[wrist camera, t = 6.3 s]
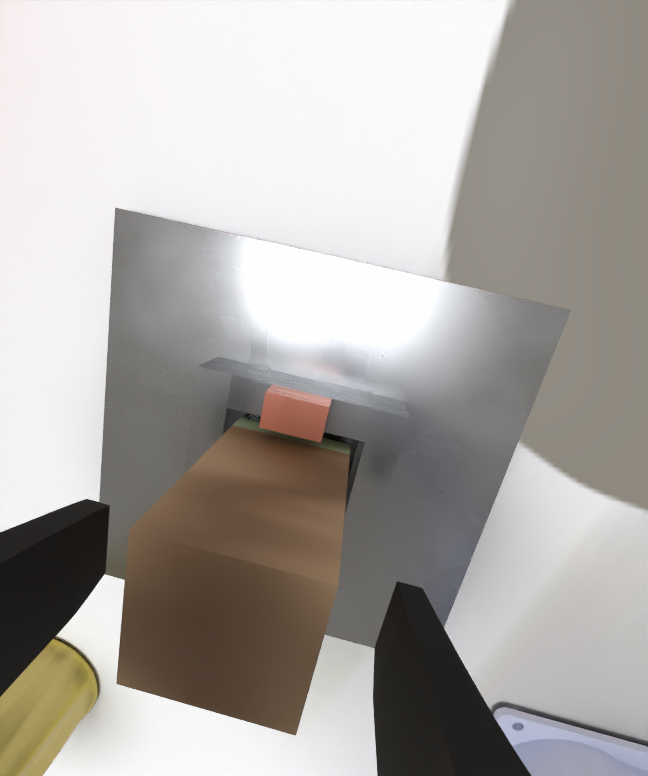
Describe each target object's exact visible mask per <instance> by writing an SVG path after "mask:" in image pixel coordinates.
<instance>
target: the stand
mask: <svg viewBox="0 0 648 776" xmlns="http://www.w3.org/2000/svg"><path fill="white" fill-rule="evenodd" d="M570 311H571V310H569V309H565V308H560V307H556V306H551V305H546V304H542V303H538V302H533V301H529V300H524V299H520V298H516V297H511V296H506V295H502V294H498V293H493V292H489V291H484V290H480V289H475V288H471V287H467V286H462V285H457V284H453V283H449V282H444V281H440V280H435V279H431V278H426V277H422V276H418V275H413V274H409V273H404V272H400V271H395V270H391V269H386V268H382V267H377V266H373V265H369V264H364V263H360V262H355V261H351V260H346V259H342V258H337V257H333V256H328V255H324V254H320V253H315V252H311V251H306V250H302V249H297V248H293V247H288V246H284V245H279V244H275V243H270V242H266V241H262V240H257V239H253V238H248V237H244V236H239V235H235V234H230V233H226V232H221V231H217V230H213V229H208V228H204V227H199V226H195V225H190V224H186V223H181V222H177V221H172V220H168V219H163V218H159V217H155V216H150V215H146V214H141V213H137V212H132V211H128V210H123V209H119V208H115V223H114V242H113V260H112V279H111V297H110V316H109V335H108V353H107V372H106V390H105V409H104V428H103V446H102V465H101V483H100V503H103V504H107V505H110V511H109V527H108V543H107V559H106V572H105V574H106V575H110V576H113V577H117V578H121V579H124V580H125V574H126V562H127V549H128V537H129V529H130V528H131V527H132V526H133V525H134V524H135V523H136V522H137V521H138V520H139V519H140V518H141V517H142V516H143V515H144V514H145V513H146V512H147V511H148V510H149V509H150V508H151V507H152V506H153V505H154V504H155V503H156V502H157V501H158V500H159V499H160V498H161V497H162V496H163V495H164V494H165V493H166V492H167V491H168V490H169V489H170V488H171V487H172V486H173V485H174V484H175V483H176V482H177V481H178V480H179V479H180V478H181V477H182V476H183V475H184V474H185V473H186V472H187V471H188V470H189V469H190V468H191V467H192V466H193V465H194V464H195V463H196V462H197V461H198V460H199V459H200V458H201V457H202V456H203V455H204V454H205V453H206V452H207V451H208V450H209V449H210V448H211V447H212V446H213V445H214V444H215V442H216V441H217V440H218V439H219V438H220V437H221V436H222V435H223V434H224V433H225V432H226V431H227V430H228V429H229V428H230V427H231V426H232V425H233V424H234V423H235V422H236V421H237V420H238V419H239V418H240V417H241V418H245V415H246V413H249V414H253V415H257V416H261V419H260V425H259V428H263V429H267V430H271V431H275V432H279V433H283V434H287V435H291V436H295V437H299V438H304V439H308V440H312V441H316V442H320V443H321V441H322V437H323V434H324V432H326V433H330V434H334V435H338V436H342V437H346V438H350V439H354V440H358V444H357V447H356V451H355V455H354V459H353V462H352V466H351V470H350V474H349V477H348V482H347V493H346V505H345V516H344V527H343V539H342V550H341V562H340V573H339V584H338V589H337V592H336V596H335V599H334V603H333V606H332V610H331V613H330V617H329V620H328V624H327V627H326V631H325V635H329V636H332V637H336V638H340V639H343V640H347V641H351V642H354V643H358V644H362V645H365V646H369V647H373V648H375V644H376V641H377V639H378V636H379V633H380V630H381V627H382V624H383V621H384V618H385V615H386V612H387V609H388V606H389V603H390V600H391V597H392V594H393V591H394V588H395V585H396V582H397V581H398V582H402V583H406V584H410V585H413V586H417V587H421V588H423V590H424V592H425V593H426V595H427V597H428V599H429V601H430V603H431V605H432V607H433V609H434V610H435V612H436V614H437V616H438V618H439V620H440V622H441V624H442V626H443V628H444V626H445V623H446V621H447V618H448V616H449V613H450V611H451V608H452V606H453V603H454V601H455V598H456V596H457V593H458V591H459V588H460V586H461V583H462V581H463V578H464V576H465V573H466V571H467V568H468V566H469V563H470V561H471V558H472V556H473V553H474V551H475V548H476V546H477V543H478V541H479V538H480V536H481V533H482V531H483V528H484V526H485V523H486V521H487V518H488V516H489V513H490V511H491V508H492V506H493V503H494V501H495V498H496V496H497V493H498V491H499V488H500V486H501V483H502V481H503V478H504V476H505V473H506V471H507V468H508V466H509V463H510V461H511V458H512V456H513V453H514V451H515V448H516V446H517V443H518V441H519V438H520V436H521V433H522V431H523V428H524V425H525V423H526V421H527V418H528V416H529V413H530V411H531V408H532V406H533V403H534V401H535V398H536V395H537V393H538V391H539V388H540V386H541V383H542V381H543V378H544V376H545V373H546V371H547V368H548V366H549V363H550V361H551V358H552V356H553V353H554V351H555V348H556V346H557V343H558V341H559V338H560V336H561V333H562V331H563V328H564V326H565V323H566V321H567V318H568V316H569V313H570Z"/></svg>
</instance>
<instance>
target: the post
mask: <svg viewBox="0 0 648 776" xmlns="http://www.w3.org/2000/svg"><path fill="white" fill-rule="evenodd" d="M259 425H260V422H257V421H253V420H249V419H245V418H241V417H240V418H239V419H238V420H237V421H236V422H235V423H234V424H233V425H232V426H231V427H230V428H229V429H228V430H227V431H226V432H225V433H224V434H223V435H222V436H221V437H220V438H219V439H218V440H217V441H216V442H215V444H214V445H213V446H212V447H211V448H210V449H209V450H208V451H207V452H206V453H205V454H204V455H203V456H202V457H201V458H200V459H199V460H198V461H197V462H196V463H195V464H194V465H193V466H192V467H191V468H190V469H189V470H188V471H187V472H186V473H185V474H184V475H183V476H182V477H181V478H180V479H179V480H178V481H177V482H176V483H175V484H174V485H173V486H172V487H171V488H170V489H169V490H168V491H167V492H166V493H165V494H164V495H163V496H162V497H161V498H160V499H159V500H158V501H157V502H156V503H155V504H154V505H153V506H152V507H151V508H150V509H149V510H148V511H147V512H146V513H145V514H144V515H143V516H142V517H141V518H140V519H139V520H138V521H137V522H136V523H135V524H134V525H133V526H132V527H131V528H130V529H129V537H128V549H127V562H126V574H125V586H124V598H123V611H122V623H121V635H120V647H119V659H118V672H117V684H119V685H123V686H126V687H129V688H133V689H136V690H140V691H143V692H147V693H150V694H154V695H157V696H161V697H164V698H168V699H171V700H175V701H178V702H182V703H185V704H188V705H192V706H195V707H199V708H202V709H206V710H209V711H213V712H216V713H220V714H223V715H227V716H230V717H234V718H237V719H240V720H244V721H247V722H251V723H254V724H258V725H261V726H265V727H268V728H272V729H275V730H279V731H282V732H286V733H289V734H292V735H296V733H297V729H298V726H299V722H300V719H301V715H302V712H303V708H304V705H305V701H306V698H307V694H308V691H309V687H310V684H311V680H312V676H313V673H314V669H315V666H316V662H317V659H318V655H319V652H320V648H321V645H322V641H323V638H324V634H325V631H326V627H327V624H328V620H329V617H330V613H331V610H332V606H333V603H334V599H335V596H336V592H337V589H338V584H339V573H340V562H341V550H342V539H343V527H344V516H345V505H346V493H347V482H348V471H349V459H350V448H351V445H350V444H346V443H342V442H338V441H334V440H330V439H326V438H322V441H321V443H320V442H316V441H312V440H308V439H304V438H299V437H295V436H291V435H287V434H283V433H279V432H275V431H271V430H267V429H263V428H259Z"/></svg>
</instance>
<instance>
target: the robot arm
mask: <svg viewBox="0 0 648 776" xmlns="http://www.w3.org/2000/svg"><path fill="white" fill-rule="evenodd" d="M109 511H110V505H107V504H103V503H100V502H96V501H92V500H88V499H85V500H83V501H80V502H77V503H74V504H71V505H69V506H66V507H63V508H61V509H58V510H56V511H53V512H51V513H48V514H46V515H43V516H41V517H38V518H36V519H33V520H31V521H28V522H26V523H23V524H21V525H18V526H16V527H13V528H10V529H8V530H5V531H3V532H0V697H1V696H2V695H3V694H4V692H5V691H6V690H7V689H8V688H9V687H10V686H11V685H12V684H13V683H14V681H15V680H16V679H17V678H18V677H19V676H20V675H21V674H22V673H23V672H24V670H25V669H26V668H27V667H28V666H29V665H30V664H31V663H32V662H33V661H34V659H35V658H36V657H37V656H38V655H39V654H40V653H41V652H42V651H43V650H44V648H45V647H46V646H47V645H48V644H49V643H50V642H51V641H52V639H53V638H54V637H55V636H56V635H57V634H58V633H59V632H60V631H61V629H62V628H63V627H64V626H65V625H66V624H67V623H68V622H69V620H70V619H71V618H72V617H73V616H74V615H75V613H76V612H77V611H78V610H79V608H80V607H81V606H82V604H83V603H84V602H85V600H86V599H87V598H88V596H89V595H90V593H91V592H92V591H93V589H94V588H95V586H96V585H97V584H98V582H99V581H100V579H101V578H102V577H103V575H104V574H105V572H106V559H107V543H108V527H109ZM373 704H374V722H375V739H376V756H377V772H378V776H648V746H644V745H641V744H637V743H633V742H630V741H626V740H623V739H619V738H615V737H612V736H608V735H605V734H601V733H597V732H594V731H590V730H586V729H583V728H579V727H576V726H572V725H568V724H565V723H561V722H558V721H554V720H550V719H547V718H543V717H540V716H536V715H532V714H529V713H525V712H522V711H518V710H514V709H511V708H507V707H501V708H498V709H497V710H496V711H495V712H494V714H492V712H491V711H490V709H489V707H488V706H487V704H486V702H485V701H484V699H483V697H482V696H481V694H480V692H479V690H478V689H477V687H476V685H475V683H474V682H473V680H472V678H471V676H470V675H469V673H468V671H467V670H466V668H465V666H464V664H463V663H462V661H461V659H460V657H459V655H458V653H457V652H456V650H455V648H454V646H453V644H452V642H451V641H450V639H449V637H448V635H447V633H446V631H445V629H444V628H443V626H442V624H441V622H440V620H439V618H438V616H437V614H436V612H435V610H434V609H433V607H432V605H431V603H430V601H429V599H428V597H427V595H426V593H425V592H424V590H423V588H421V587H417V586H413V585H410V584H406V583H402V582H398V581H397V582H396V585H395V588H394V591H393V594H392V597H391V600H390V603H389V606H388V609H387V612H386V615H385V618H384V621H383V624H382V627H381V630H380V633H379V636H378V639H377V641H376V644H375V658H374V687H373Z"/></svg>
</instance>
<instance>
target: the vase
mask: <svg viewBox="0 0 648 776" xmlns="http://www.w3.org/2000/svg"><path fill="white" fill-rule="evenodd" d="M97 693H98V688H97V681H96V678H95V675H94V673H93V671H92V669H91V667H90V666H89V664H88V663H87V662H86V661H85V659H84V658H83V657H82V656H81V655H80V654H79V653H77V652H76V651H75V650H74V649H72V648H71V647H69V646H68V645H66V644H64V643H62V642H60V641H58V640H56V639H52V641H51V642H50V643H49V644H48V645H47V646H46V647H45V648H44V650H43V651H42V652H41V653H40V654H39V655H38V656H37V657H36V658H35V659H34V661H33V662H32V663H31V664H30V665H29V666H28V667H27V668H26V669H25V670H24V672H23V673H22V674H21V675H20V676H19V677H18V678H17V679H16V680H15V681H14V683H13V684H12V685H11V686H10V687H9V688H8V689H7V690H6V691H5V692H4V694H3V695H2V696H1V697H0V776H43V774H44V773H45V772H46V770H47V769H48V768H49V766H50V765H51V763H52V762H53V760H54V759H55V757H56V756H57V754H58V753H59V752H60V750H61V749H62V747H63V746H64V744H65V743H66V741H67V740H68V738H69V737H70V735H71V733H72V732H73V730H74V729H75V727H76V726H77V724H78V723H79V722H80V721H81V720H82V718H83V717H85V716H86V715H87V714H88V712H89V711H90V710H91V709H92V707H93V706H94V704H95V701H96V699H97Z"/></svg>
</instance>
